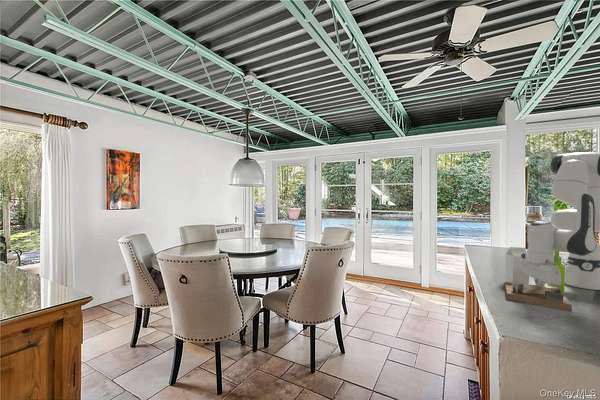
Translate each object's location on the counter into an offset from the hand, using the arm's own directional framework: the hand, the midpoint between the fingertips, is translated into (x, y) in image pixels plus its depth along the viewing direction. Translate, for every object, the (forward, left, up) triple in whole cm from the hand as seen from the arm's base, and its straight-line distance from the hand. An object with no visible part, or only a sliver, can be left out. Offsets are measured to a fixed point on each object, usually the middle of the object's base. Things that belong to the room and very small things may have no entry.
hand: (539, 289), depth 120 cm
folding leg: (+4, -2, -1) cm, 4 cm away
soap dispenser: (-17, +8, -4) cm, 20 cm away
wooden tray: (+1, -2, -4) cm, 4 cm away
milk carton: (-19, -7, -4) cm, 21 cm away
